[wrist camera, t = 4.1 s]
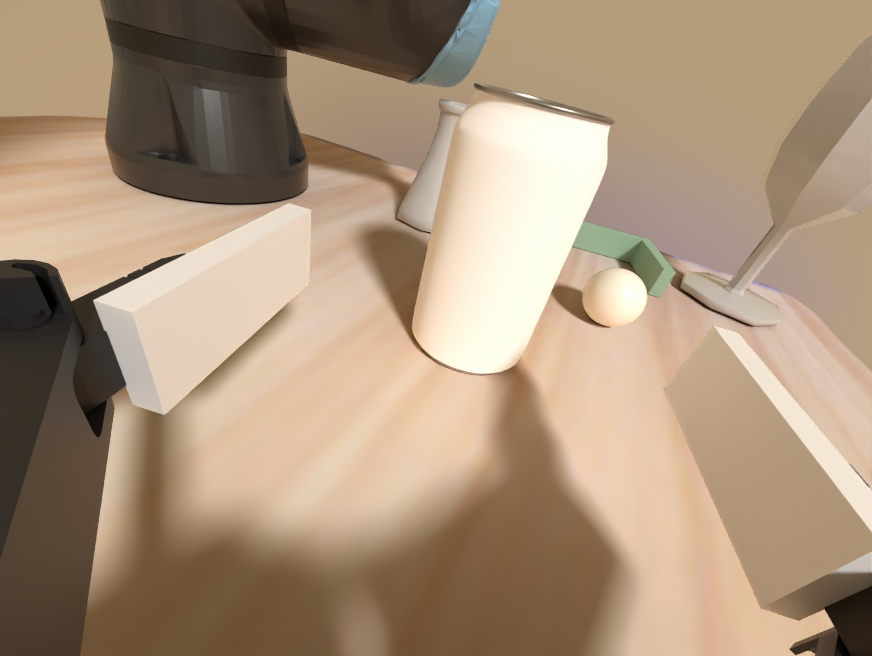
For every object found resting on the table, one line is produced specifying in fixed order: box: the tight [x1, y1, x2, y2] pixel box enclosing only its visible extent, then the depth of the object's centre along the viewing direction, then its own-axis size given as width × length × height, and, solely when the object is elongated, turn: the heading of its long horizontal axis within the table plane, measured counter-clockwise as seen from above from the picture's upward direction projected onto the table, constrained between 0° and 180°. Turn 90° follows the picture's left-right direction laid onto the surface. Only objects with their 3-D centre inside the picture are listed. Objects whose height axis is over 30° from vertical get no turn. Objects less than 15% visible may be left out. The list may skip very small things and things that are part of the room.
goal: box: [572, 221, 676, 297], centre depth 35 cm, size 8×13×2 cm, turn 78°
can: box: [412, 83, 615, 375], centre depth 18 cm, size 6×6×12 cm
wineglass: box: [680, 29, 872, 326], centre depth 29 cm, size 9×9×21 cm
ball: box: [582, 268, 647, 327], centre depth 25 cm, size 4×4×4 cm
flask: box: [397, 99, 468, 232], centre depth 33 cm, size 7×7×10 cm
